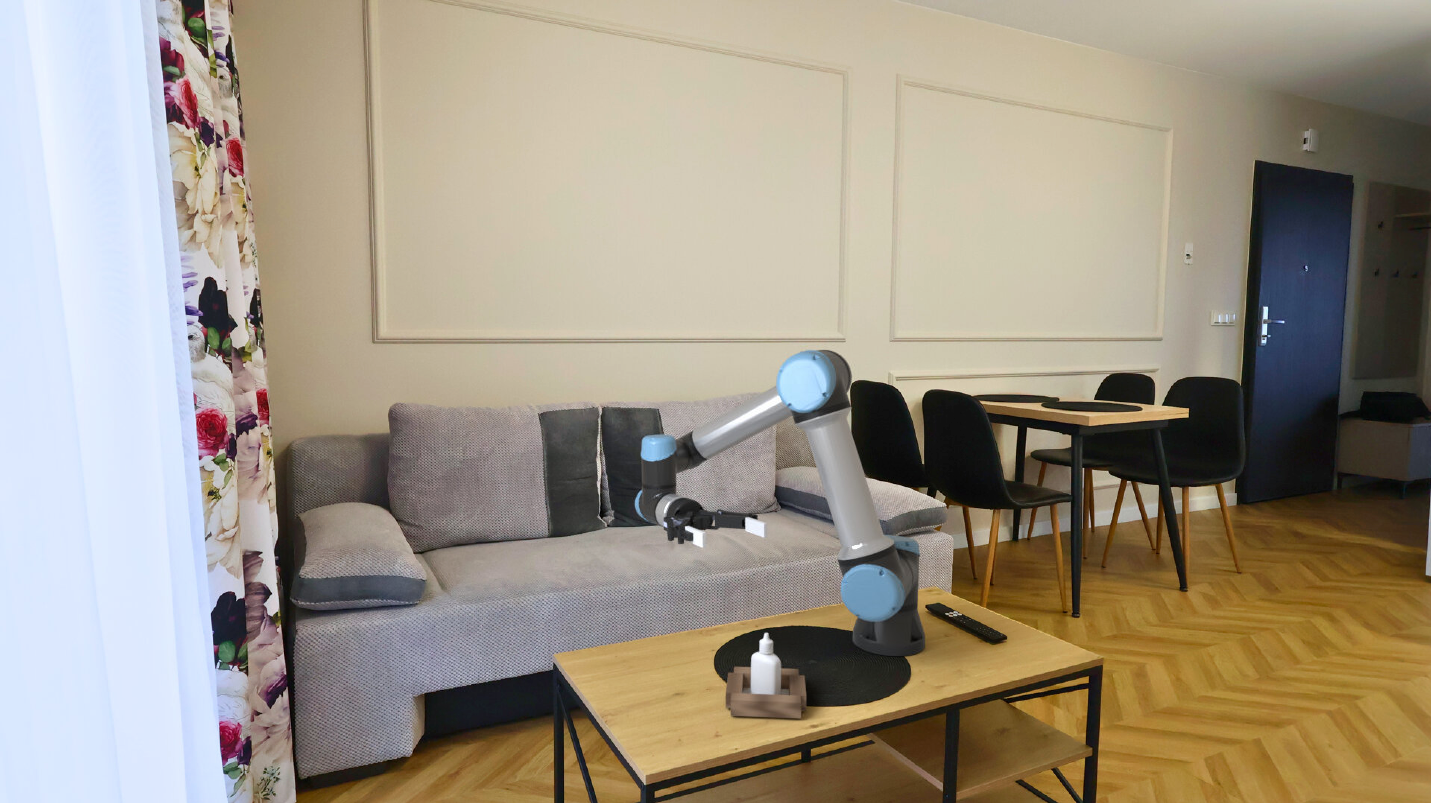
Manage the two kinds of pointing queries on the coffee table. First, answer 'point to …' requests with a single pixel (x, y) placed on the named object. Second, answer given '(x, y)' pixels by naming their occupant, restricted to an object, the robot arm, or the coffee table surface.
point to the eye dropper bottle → (765, 669)
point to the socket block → (766, 695)
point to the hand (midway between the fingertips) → (735, 535)
